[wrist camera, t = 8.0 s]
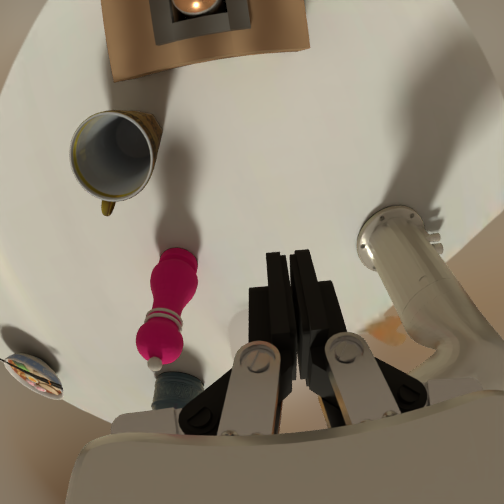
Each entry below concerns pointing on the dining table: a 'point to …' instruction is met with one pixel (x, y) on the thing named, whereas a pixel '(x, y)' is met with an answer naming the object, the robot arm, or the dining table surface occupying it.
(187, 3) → the peg
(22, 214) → the dining table surface
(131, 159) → the ceramic cup
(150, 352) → the pepper mill
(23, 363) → the ramen bowl
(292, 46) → the socket block
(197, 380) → the canister
